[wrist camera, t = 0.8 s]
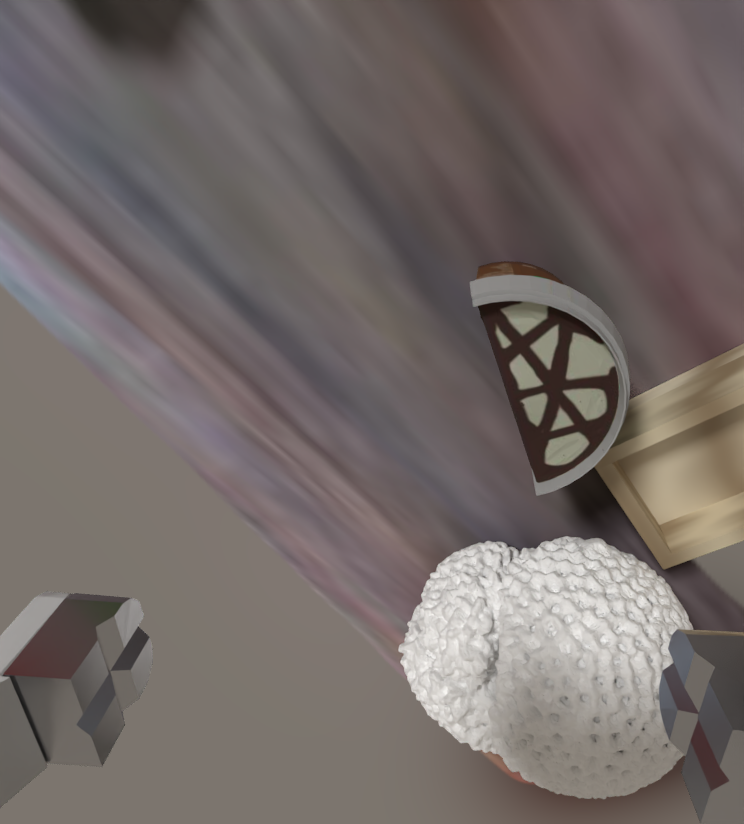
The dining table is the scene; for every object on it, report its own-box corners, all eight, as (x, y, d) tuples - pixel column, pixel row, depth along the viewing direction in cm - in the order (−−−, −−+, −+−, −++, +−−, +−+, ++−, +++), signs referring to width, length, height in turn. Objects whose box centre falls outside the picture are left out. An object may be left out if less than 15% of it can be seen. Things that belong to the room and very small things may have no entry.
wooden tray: (819, 306, 34) (860, 332, 30) (878, 437, 37) (922, 476, 33) (578, 424, 40) (588, 458, 36) (647, 528, 43) (663, 569, 39)
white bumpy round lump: (686, 517, 32) (651, 864, 26) (735, 590, 44) (718, 839, 38) (398, 488, 45) (334, 716, 39) (497, 550, 57) (458, 732, 51)
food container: (618, 389, 38) (660, 478, 29) (525, 414, 40) (539, 504, 31) (575, 205, 33) (610, 247, 24) (470, 243, 35) (469, 294, 26)
